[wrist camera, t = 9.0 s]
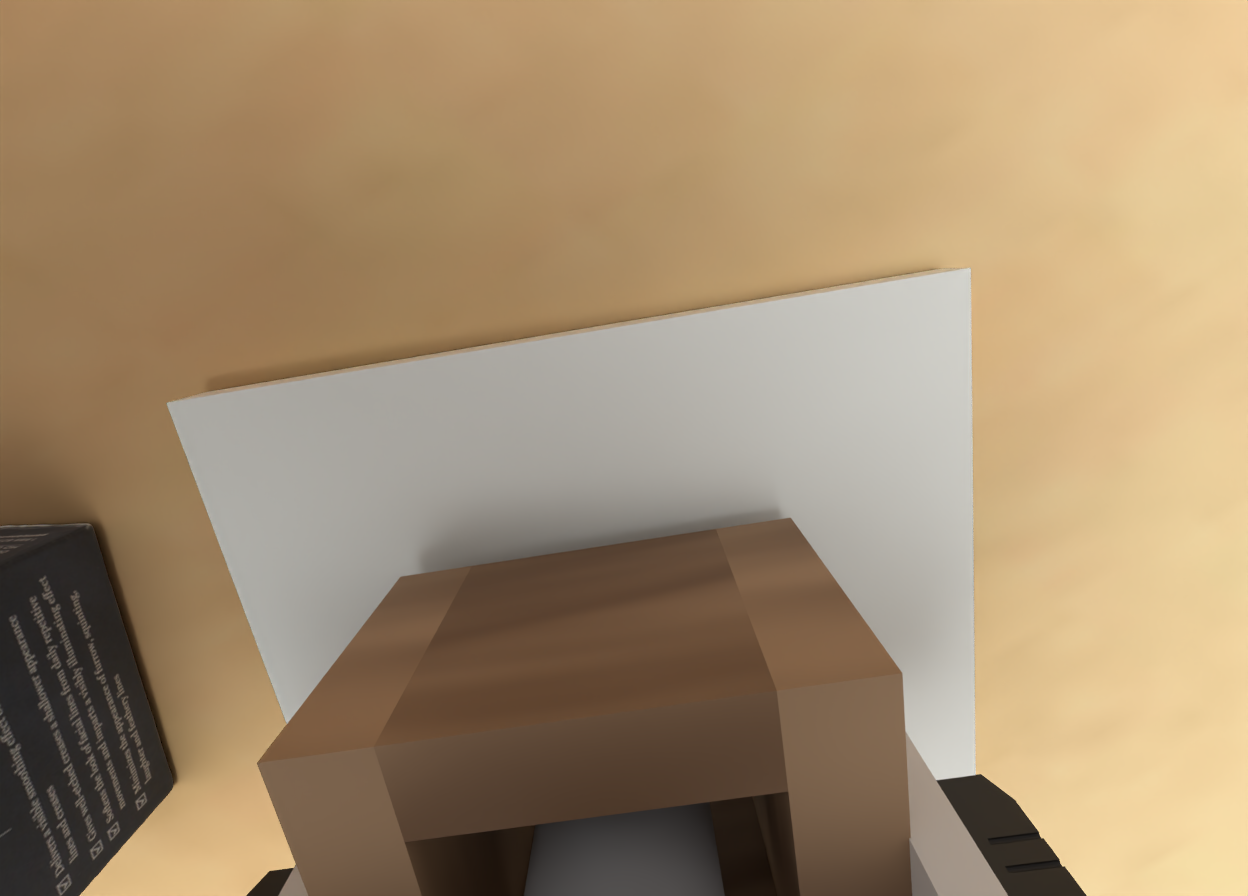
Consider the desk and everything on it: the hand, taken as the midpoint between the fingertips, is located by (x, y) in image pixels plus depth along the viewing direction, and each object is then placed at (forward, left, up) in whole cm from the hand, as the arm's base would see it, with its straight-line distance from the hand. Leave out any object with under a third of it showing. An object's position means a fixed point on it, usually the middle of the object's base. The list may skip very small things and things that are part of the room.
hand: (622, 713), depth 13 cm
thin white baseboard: (0, 0, -2) cm, 2 cm away
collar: (0, 0, 0) cm, 0 cm away
